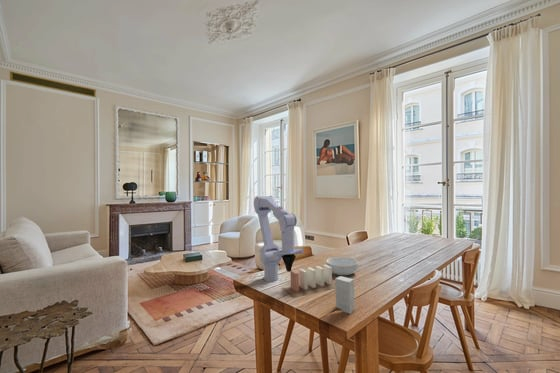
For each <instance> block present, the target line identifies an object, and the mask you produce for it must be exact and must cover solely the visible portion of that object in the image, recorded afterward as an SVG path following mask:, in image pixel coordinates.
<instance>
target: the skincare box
mask: <svg viewBox="0 0 560 373" xmlns="http://www.w3.org/2000/svg"><path fill="white" fill-rule="evenodd" d="M334 281H335V282H334V283H335V285H336V289H335V308H338V311H340V312H342V313H346V314H349V315H350V314H352V313H353V312H354V311H355V310H356V308H355V306H356V305H355V300H356V299H355V279H354V278H350V277H346V276H343V275H339V276H338V277H336V278H334Z"/></svg>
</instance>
